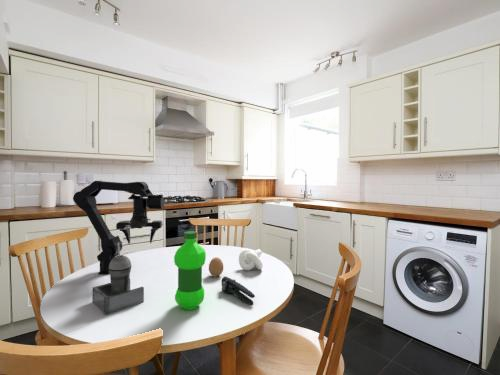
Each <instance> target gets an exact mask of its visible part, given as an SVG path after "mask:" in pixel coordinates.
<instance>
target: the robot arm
mask: <svg viewBox="0 0 500 375" xmlns="http://www.w3.org/2000/svg"><path fill="white" fill-rule="evenodd" d="M103 190H104V191H105V190H106V191H118V192H126V193H129V194H131V195H130V196H129V197H128V198H127V199H128V200H132V206H133V207H132V208H133V209H132V216H131V219H130V220H119V221H118V222H117V223H116V225H115V229H116V230H119V231H120V232H123V234H124V237H125V238H126V241H127V244H128V245H130V244H131V229H134V230H135V229H143V228H144V227H151V229H150V237H149V244H152V242H153V240H154V236H155V234H156V232H157V231H158V230H160V229H161V228H162V227H163V221H162V220H161V219H160V220H152V222H149V219H148V209H149V210H161V211H162V210H164V209H165V203H166V202H165V198H164V195H163V194H154V193H152V191H151V190H150V189H149V184H148V183H146V181H133V182H116V181H104V180H94V181H93V182H91V183H90V184H89V185H87V186H85V187H83V188H82V189H81V190H80V191H76V192H75V193H74V194H73V197H72V200H73V202H74V204H76V206H77V208H79V209H80V210H82V211H83V212H85V214H86V216H87V217H88V219H89V221H90V223H91V225H92V226H93V228H94V230H95V232H96V233H97V235H98V238H99V239H100V247H101V248H100V249H101V250H102V251H101V252H100V253H99V254H97V256H96V259H97V261H98V262H99V272H97V274H98V275H107V274H109V270H108V268H109V264H110V262H111V260H112V259H113V258H114V257H116V256H118V243H119V247H120V252H121V251H122V250H123V241H122V240H121V239H120V236H119V235H116V236H115V235H114V234H112V232H111V230H110V229H109V227H108V225H107V223H106V222H105V220H104V218H103V217H102V215H101V213H100V211H99V209H98V206H97V199H96V197H97V196H98V195H99V194H100V193H101V191H103ZM109 275H110V274H109Z"/></svg>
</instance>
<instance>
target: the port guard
mask: <svg viewBox="0 0 500 375" xmlns="http://www.w3.org/2000/svg"><path fill="white" fill-rule="evenodd" d="M144 289H145V287H144V286H139V287H135V288H133V289H131V277H130V278H129V289H128V291H126V292H122V293H119V294H116V295H112V289H111V282H109V283H105V284H101V285H97V286H94V287H92V303H93V304H94V305H95V306H97V308H98V309H99V310H100V311H101V312H102V313H103V314H104V315H105V316H106V315H109V314H113V313H114V312H118V311H121V310H125V309H127V308H130V307H133V306H136V305H138V304H141V303H144V302H145V298H144V297H145V295H144V294H145V293H144V292H145V290H144Z"/></svg>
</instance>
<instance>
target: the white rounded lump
mask: <svg viewBox="0 0 500 375" xmlns="http://www.w3.org/2000/svg"><path fill="white" fill-rule="evenodd" d="M262 252H263V251H262V250H261V249H260V248H259V249H256V250H255V252H254V251H253V250H251V249H250V248H244V249H243V250H241V251H240V252H239V255H238V264H239V266H240V268H241V269H242V270H243V271H247V270H248V271H250V270H252V269H254V267H255V269H257V270H259V271H261V270H262V269H263V266H264V265H263V262H262V261H261V259H260V257H261V255H262Z"/></svg>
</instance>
